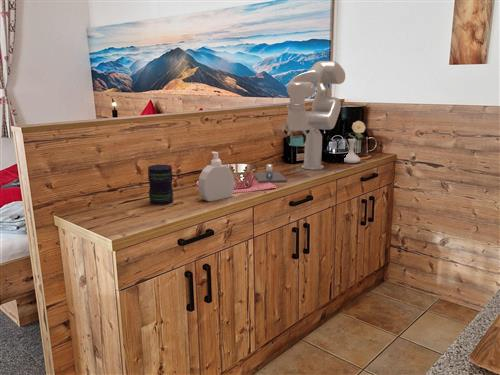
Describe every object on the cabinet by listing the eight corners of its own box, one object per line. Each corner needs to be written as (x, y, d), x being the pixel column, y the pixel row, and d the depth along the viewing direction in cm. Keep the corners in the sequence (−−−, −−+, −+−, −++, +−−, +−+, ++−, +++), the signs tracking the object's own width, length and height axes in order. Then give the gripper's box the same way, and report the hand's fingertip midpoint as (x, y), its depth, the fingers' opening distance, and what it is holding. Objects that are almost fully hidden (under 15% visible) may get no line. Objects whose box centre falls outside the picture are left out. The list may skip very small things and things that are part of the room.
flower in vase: (340, 163, 275) (342, 121, 269) (342, 160, 285) (344, 119, 279) (362, 165, 271) (365, 122, 265) (363, 161, 282) (366, 120, 276)
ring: (287, 143, 240) (287, 136, 239) (301, 143, 241) (301, 135, 240) (291, 146, 233) (291, 138, 232) (304, 145, 234) (304, 137, 233)
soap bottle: (227, 194, 206) (227, 149, 201) (234, 196, 202) (234, 151, 197) (197, 200, 196) (196, 153, 191) (204, 202, 192) (203, 155, 188)
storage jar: (147, 200, 196) (145, 165, 192) (170, 198, 199) (169, 163, 196) (151, 206, 187) (149, 170, 183) (175, 204, 190) (174, 168, 187)
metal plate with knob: (252, 174, 246) (252, 161, 244) (278, 173, 248) (279, 160, 246) (259, 183, 227) (259, 168, 225) (287, 182, 229) (287, 168, 227)
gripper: (281, 108, 228) (281, 144, 232) (316, 108, 230) (314, 143, 235) (278, 107, 235) (278, 142, 239) (311, 107, 238) (310, 141, 242)
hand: (296, 142), depth 237 cm, fingers closed on ring, 7 cm apart
